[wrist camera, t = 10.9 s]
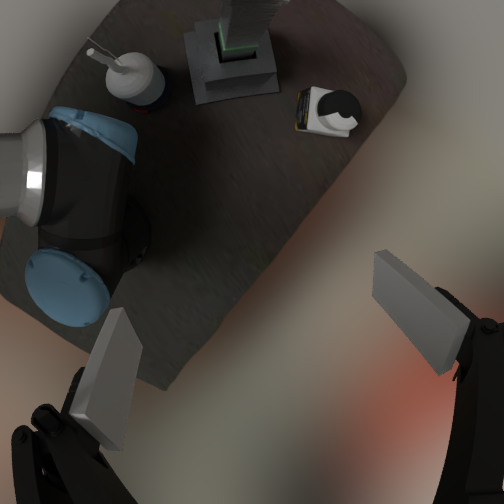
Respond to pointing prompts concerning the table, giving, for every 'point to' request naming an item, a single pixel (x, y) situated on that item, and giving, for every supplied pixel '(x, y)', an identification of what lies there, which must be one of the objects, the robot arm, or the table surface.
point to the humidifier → (135, 80)
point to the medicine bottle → (327, 112)
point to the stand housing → (227, 67)
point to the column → (244, 26)
